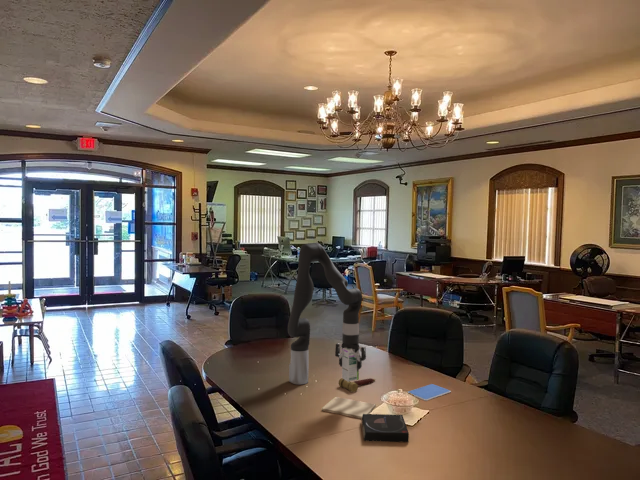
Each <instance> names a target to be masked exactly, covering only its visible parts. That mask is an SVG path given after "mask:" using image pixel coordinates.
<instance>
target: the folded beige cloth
mask: <svg viewBox="0 0 640 480" xmlns="http://www.w3.org/2000/svg"><path fill="white" fill-rule="evenodd" d="M376 407H377V405H376V404H375V403H371V402H367V401H366V402H365V401H360V400H355V399H351V398H347V397H346V398H345V397H339V396H335V397H334V398H332V399H331V400H330V401H329V402H327V403H326V404H325V405H324V406H322V407H321V411H323V412H328V413H333V414H336V415H342V416H346V417H352V418H357V419H361V420H362V416H363V414H371V413H372V412H373V410H375V408H376Z"/></svg>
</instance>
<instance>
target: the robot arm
mask: <svg viewBox="0 0 640 480" xmlns="http://www.w3.org/2000/svg"><path fill="white" fill-rule="evenodd" d="M315 262H318V263H320V264H321V265H322V267H323V270H324V276H325V278H326V281H327V282H328V283H329V285H330V286H331V287H332V288H333V289H334V290H335V293H336V295H337V297H338V300H339V301H340V302H341V303H342V304H343V305H345V306H346V305H347V306H348V307H347V308H346V309H344V310H343V312H342V313H343V314H342V315H343V316H342V336H341V337H342V338H341V340H342V343H341V342H338V343H336V344H335V351H334V352H335V354H334V355H335V357H336V358H338V365H339V367H341V368H342V356H343V355H344V350H345V349H344V350H343V352H342V351H341V350H342V349H343V348H346V349H348V348H350V349H351V350H353V355H354V356H355V357H356V358H357V360H358V361H357V369H359V370H360V369H362V365H363V363H362V362H364V361H365V360H367V353H366V352H367V350H366V349H367V348H366V346H365V345H363V346H360V345H359V344H360V325H359V316H360V315H359V313H360V310H361V307H362V302H363V293H362V291H361V290H360V289H359V288H357V287H353V288H347V287H348V284H349V282H348V279H346V277H345V276H344V275H343V274H342V273H341V272H340V271H339V269H338V268H337V267H336V266H335V264H334V262H333V261H332V259H331V258H330V256H329V255H328V253H327V252H326V250H325V248H324V247H323V245H322V244H320V243H319V242H311V243H306V244H302V245H301V247H300V248H299V253H298V267H297V269H298V270H297V275H296V276H297V277H296V283H295V287H294V288H295V289H294V294H293V300H292V307H291V311H290V313H289V314H290V315H289V319H288V323H287V333H288V334H287V335H289V336H290V338H297V339H296V340H295V341H292V342H291V344H290V362H289V364H288V382H289V383H291V384H294V385H305V384H307V383H309V352H310V351H309V349H310V348H309V346H310V339H311V338H310V337H311V336H310V335H311V323H310V321H309V319H308V318H307V317H301V315H302V313H303V312H304V311H305V309H306V308H307V307H308V306H309V304H310V302H312V300H313V296H314V295H313V294H314V289H315V286H314V282H313V279H312V277H311V274H310V268H311V263H315ZM300 317H301V318H300ZM354 350H355V351H354ZM358 350H359V354H356V352H357V351H358ZM360 352H361V354H360Z"/></svg>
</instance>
